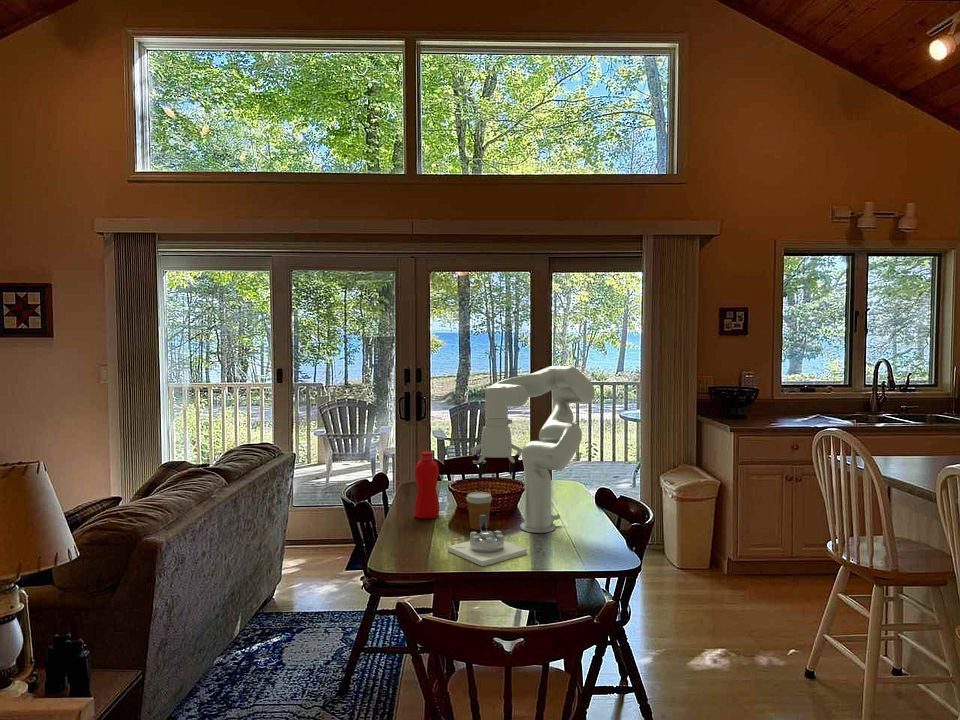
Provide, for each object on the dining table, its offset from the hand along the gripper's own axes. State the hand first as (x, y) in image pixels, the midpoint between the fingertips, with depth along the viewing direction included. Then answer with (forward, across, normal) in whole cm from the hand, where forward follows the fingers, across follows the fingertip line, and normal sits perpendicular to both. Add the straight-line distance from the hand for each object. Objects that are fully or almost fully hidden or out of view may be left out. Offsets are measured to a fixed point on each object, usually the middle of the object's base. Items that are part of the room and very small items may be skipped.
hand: (496, 474), depth 211 cm
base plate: (+24, +3, +8) cm, 25 cm away
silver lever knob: (+22, +3, +7) cm, 23 cm away
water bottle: (+24, +26, -35) cm, 49 cm away
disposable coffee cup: (+24, +6, -19) cm, 31 cm away
